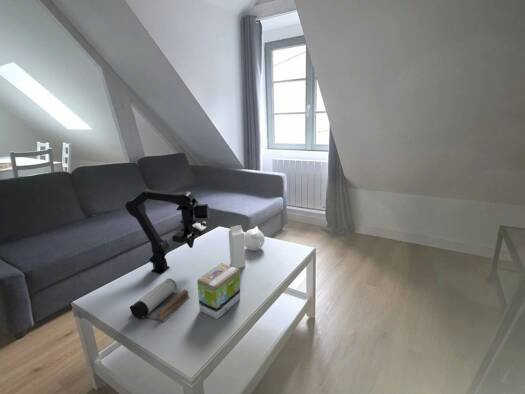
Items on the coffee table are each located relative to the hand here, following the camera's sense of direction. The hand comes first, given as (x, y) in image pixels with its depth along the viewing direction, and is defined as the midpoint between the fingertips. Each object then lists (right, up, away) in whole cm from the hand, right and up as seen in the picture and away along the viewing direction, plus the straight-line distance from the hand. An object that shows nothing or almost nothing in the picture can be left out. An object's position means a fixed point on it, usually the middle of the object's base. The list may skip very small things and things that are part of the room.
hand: (191, 247), depth 139 cm
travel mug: (-5, -14, -14) cm, 20 cm away
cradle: (-7, -20, -21) cm, 30 cm away
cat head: (+30, -5, +24) cm, 38 cm away
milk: (+22, -11, +7) cm, 26 cm away
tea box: (+18, -20, -22) cm, 35 cm away
